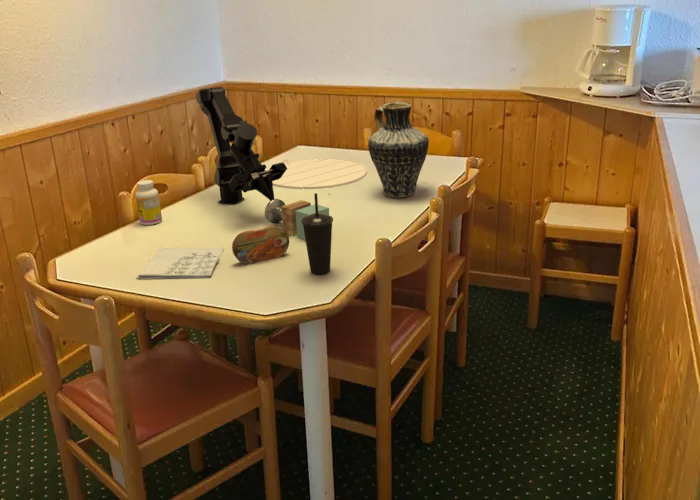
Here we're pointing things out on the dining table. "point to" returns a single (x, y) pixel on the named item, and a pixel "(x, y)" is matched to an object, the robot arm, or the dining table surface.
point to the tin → (260, 244)
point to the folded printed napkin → (181, 263)
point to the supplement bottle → (148, 203)
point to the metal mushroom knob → (274, 211)
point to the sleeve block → (292, 216)
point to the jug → (397, 149)
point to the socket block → (305, 212)
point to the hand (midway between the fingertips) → (272, 199)
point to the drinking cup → (318, 240)
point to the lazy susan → (319, 173)
